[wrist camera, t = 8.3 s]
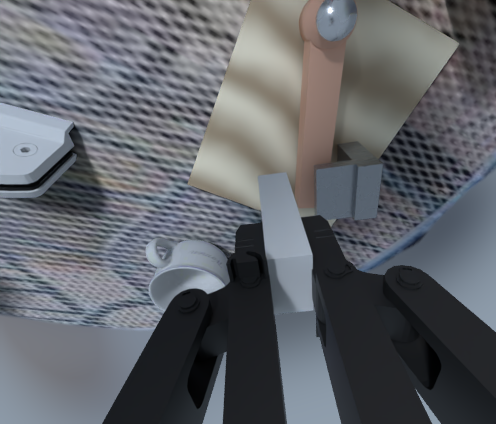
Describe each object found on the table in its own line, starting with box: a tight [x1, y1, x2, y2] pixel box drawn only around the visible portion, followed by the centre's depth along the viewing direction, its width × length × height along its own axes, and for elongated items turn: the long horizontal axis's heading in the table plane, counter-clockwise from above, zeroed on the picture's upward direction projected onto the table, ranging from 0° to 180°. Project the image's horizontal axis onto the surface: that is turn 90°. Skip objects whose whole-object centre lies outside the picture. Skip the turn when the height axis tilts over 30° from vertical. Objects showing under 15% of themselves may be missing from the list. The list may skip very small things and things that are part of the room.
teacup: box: [146, 238, 230, 312], centre depth 40 cm, size 14×11×8 cm
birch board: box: [188, 0, 460, 227], centre depth 33 cm, size 26×21×1 cm
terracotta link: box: [295, 0, 357, 208], centre depth 30 cm, size 21×4×4 cm, turn 2°
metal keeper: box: [314, 141, 383, 220], centre depth 32 cm, size 6×6×7 cm
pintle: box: [316, 0, 357, 41], centre depth 23 cm, size 3×3×1 cm
